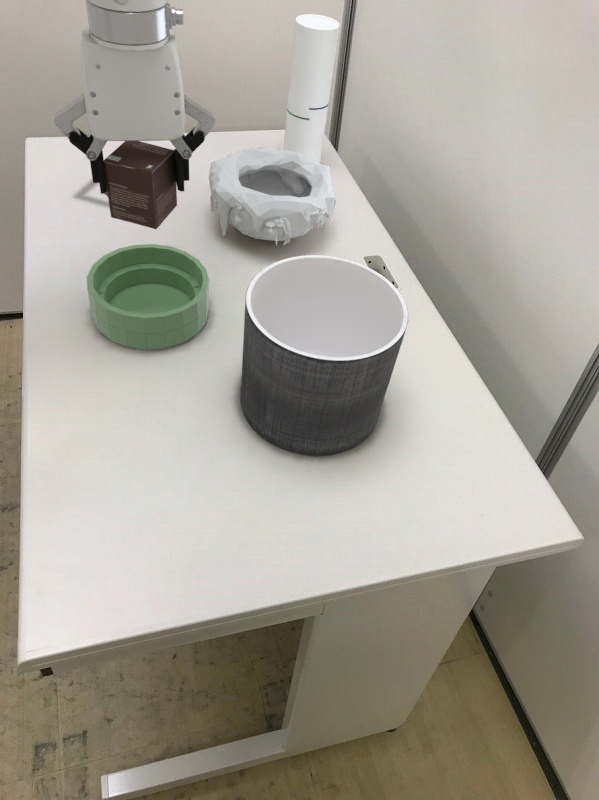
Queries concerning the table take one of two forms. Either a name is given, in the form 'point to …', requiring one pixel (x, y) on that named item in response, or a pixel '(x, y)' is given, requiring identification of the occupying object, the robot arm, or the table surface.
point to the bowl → (271, 193)
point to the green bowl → (148, 296)
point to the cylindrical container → (310, 84)
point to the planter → (319, 352)
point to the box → (141, 183)
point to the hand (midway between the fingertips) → (142, 185)
